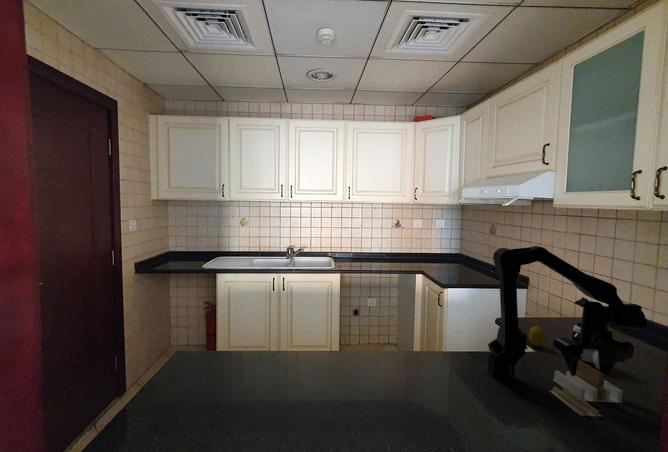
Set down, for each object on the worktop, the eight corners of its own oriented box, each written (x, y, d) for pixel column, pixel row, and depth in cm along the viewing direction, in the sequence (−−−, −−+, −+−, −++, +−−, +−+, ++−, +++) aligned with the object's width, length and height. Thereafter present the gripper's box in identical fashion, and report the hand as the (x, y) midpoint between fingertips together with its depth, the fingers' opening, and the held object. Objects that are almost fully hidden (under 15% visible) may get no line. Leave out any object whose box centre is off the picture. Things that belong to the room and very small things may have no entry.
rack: (581, 403, 80) (582, 390, 80) (552, 381, 90) (553, 369, 90) (622, 405, 81) (624, 391, 80) (589, 383, 91) (591, 371, 90)
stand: (580, 418, 74) (581, 410, 74) (549, 393, 84) (550, 386, 84) (601, 419, 74) (602, 411, 74) (568, 394, 84) (568, 387, 84)
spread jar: (570, 352, 112) (573, 322, 112) (610, 364, 104) (615, 332, 104) (565, 362, 104) (569, 329, 103) (609, 376, 96) (613, 341, 95)
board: (596, 399, 81) (599, 374, 81) (571, 382, 89) (574, 359, 89) (601, 399, 81) (604, 375, 81) (576, 382, 89) (579, 360, 89)
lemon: (547, 350, 112) (550, 329, 112) (531, 348, 113) (534, 327, 113) (540, 344, 118) (543, 324, 117) (525, 341, 119) (527, 322, 118)
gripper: (589, 333, 76) (581, 392, 76) (657, 337, 77) (649, 395, 77) (554, 317, 87) (548, 369, 88) (614, 321, 88) (608, 371, 89)
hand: (587, 376), depth 85 cm, fingers open, 9 cm apart
